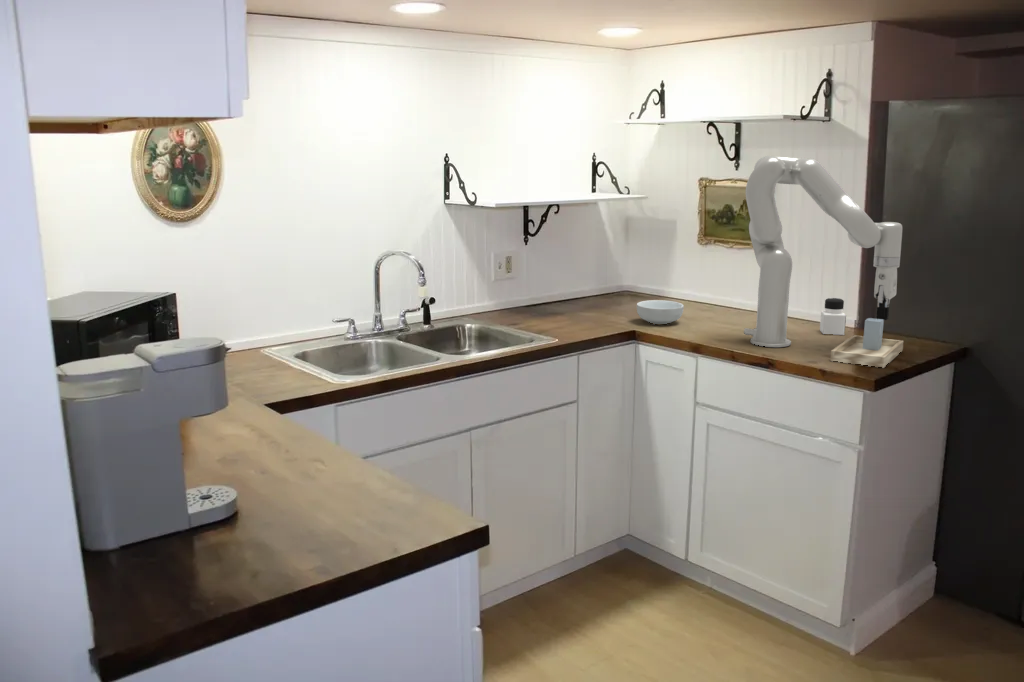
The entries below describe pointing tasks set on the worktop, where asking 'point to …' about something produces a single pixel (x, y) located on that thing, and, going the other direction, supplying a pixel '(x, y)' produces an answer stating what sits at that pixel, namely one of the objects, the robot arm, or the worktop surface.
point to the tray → (866, 352)
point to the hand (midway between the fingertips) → (882, 319)
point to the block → (873, 334)
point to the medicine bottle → (833, 317)
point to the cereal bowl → (660, 311)
